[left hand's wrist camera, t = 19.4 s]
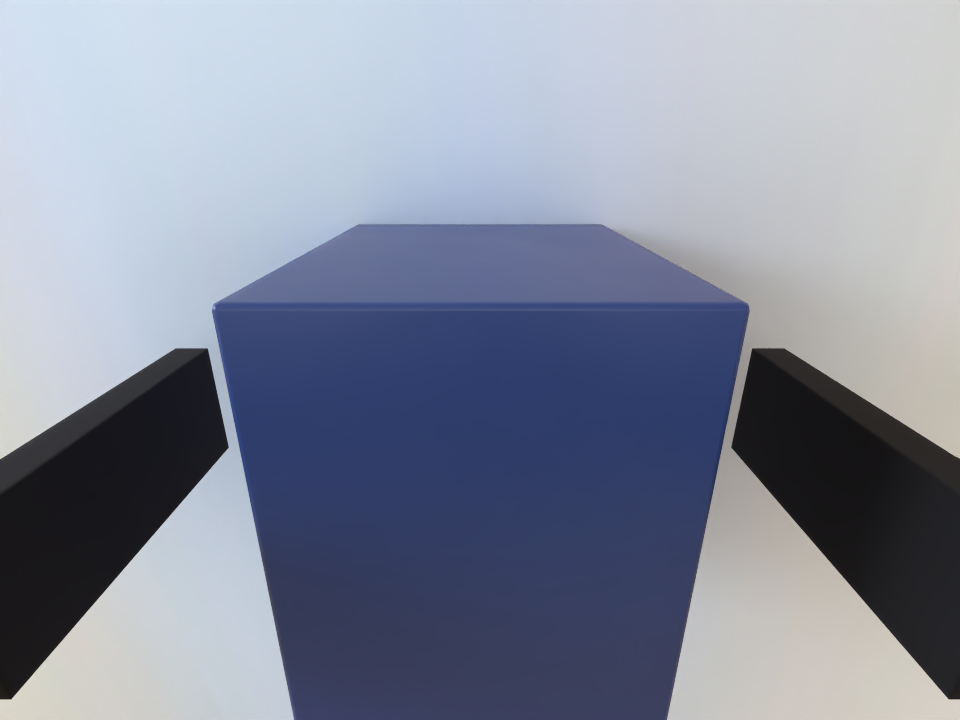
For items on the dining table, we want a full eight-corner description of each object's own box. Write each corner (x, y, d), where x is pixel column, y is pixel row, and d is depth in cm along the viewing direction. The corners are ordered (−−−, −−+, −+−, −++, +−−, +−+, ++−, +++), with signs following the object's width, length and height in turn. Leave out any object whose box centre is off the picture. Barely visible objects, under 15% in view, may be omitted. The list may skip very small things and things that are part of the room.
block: (604, 223, 14) (754, 303, 6) (582, 473, 16) (666, 731, 9) (356, 224, 13) (206, 304, 6) (377, 473, 16) (294, 732, 9)
